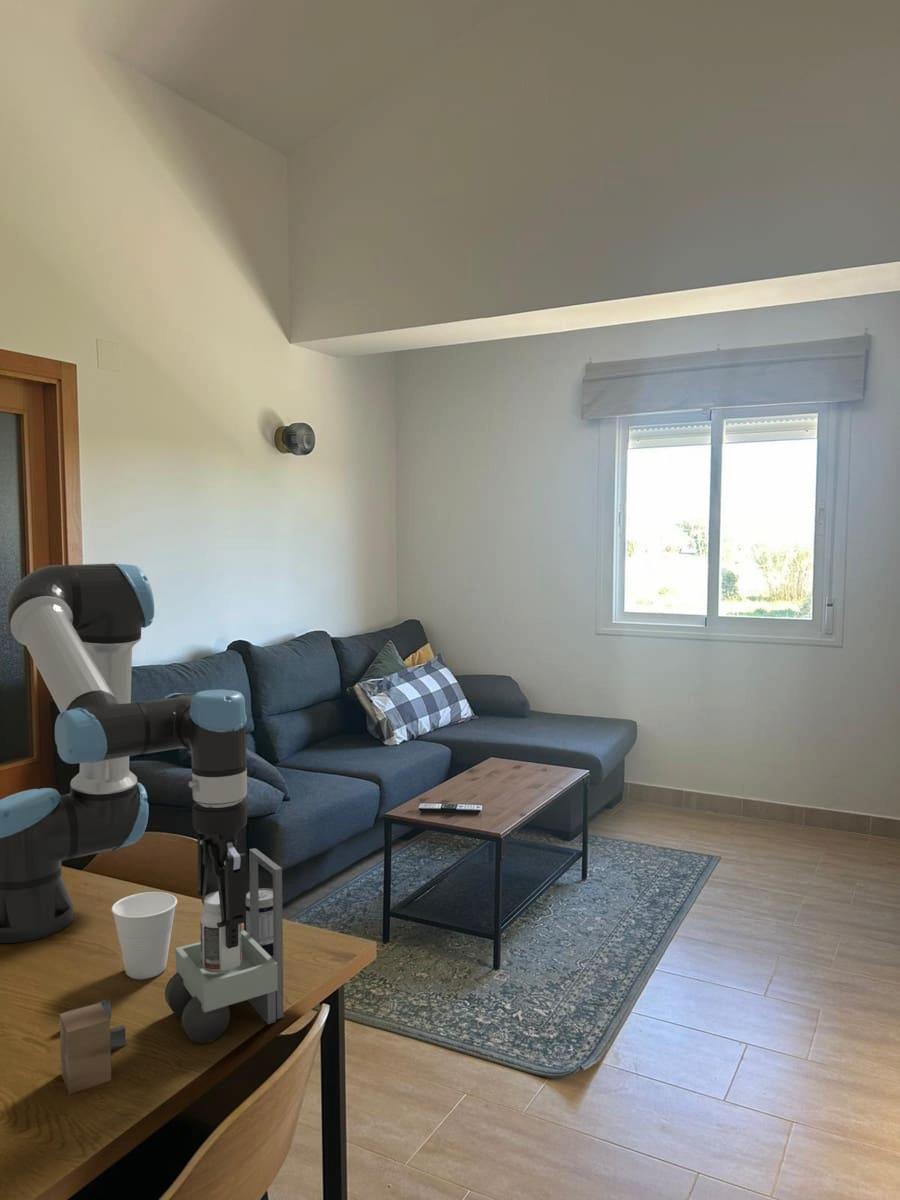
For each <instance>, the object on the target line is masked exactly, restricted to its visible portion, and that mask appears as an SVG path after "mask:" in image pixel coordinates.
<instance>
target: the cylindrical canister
mask: <svg viewBox="0 0 900 1200" xmlns="http://www.w3.org/2000/svg"><path fill="white" fill-rule="evenodd" d="M258 891H259V945H260V946H261V947H262V948H263V949H264V950H265V951H266V952H267V953H268V954H269V955H270V956H271V957H272V958H273V959H274V945H273V888H264V887H263V888H258ZM245 897H246V922H245V923H243V931H244V930H245V931H246V932H247V933H248V934H249V935H250V891H248V892H247V893H246V894H245Z"/></svg>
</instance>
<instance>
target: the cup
mask: <svg viewBox="0 0 900 1200" xmlns="http://www.w3.org/2000/svg"><path fill="white" fill-rule="evenodd" d="M177 904H178V898H177V897H176V896H174V895H173V894H171V893H167V892H161V891H148V892H141V893H134V894H131V895H128V896H125V897H123V898H121V899H119V900H117V901H116V902H115V903H114V904H113V905H112V907H111V909H110V910H111V913H112V914H113V917H114V922H115V926H116V927H115V928H116V932H117V936H118V937H117V938H118V941H119V947H120V950H121V951H120V952H121V957H122V961H123V965H124V971H125V974H126V975H127V976H128V977H129V978H131V979H133V980H147V979H151V978H155V977H157V976H159V975H161V974H162V973H163V972H164V971H165V969H166V968H167V964H168V956H169V949H170V943H171V936H172V928H173V923H174V919H175V917H174V916H175V911H176V906H177Z"/></svg>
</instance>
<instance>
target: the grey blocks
mask: <svg viewBox="0 0 900 1200" xmlns="http://www.w3.org/2000/svg"><path fill="white" fill-rule="evenodd" d="M98 1003H101V1004H102V1006H103V1008H104V1010H105V1012H106V1014H107V1016H108V1018H109V1019H112V1002H111V999H109V998H108V999H104V1000H102V1001H101V1000H100V1001H97V1002H93V1003H90V1004H87V1005H83V1006H79V1007H76V1008H73V1009H69V1010H65V1011H64V1013H66V1012H69V1011H73V1010H76V1009H80V1008H84V1007H87V1006H91V1005H94V1004H98ZM126 1035H127V1034H126V1027H125V1025H119V1026H115V1027H113V1028H110V1051H112V1050H115V1049H116V1050H117V1049H119V1048H122V1047H126V1045H127V1044H126V1042H127V1041H126Z"/></svg>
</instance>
